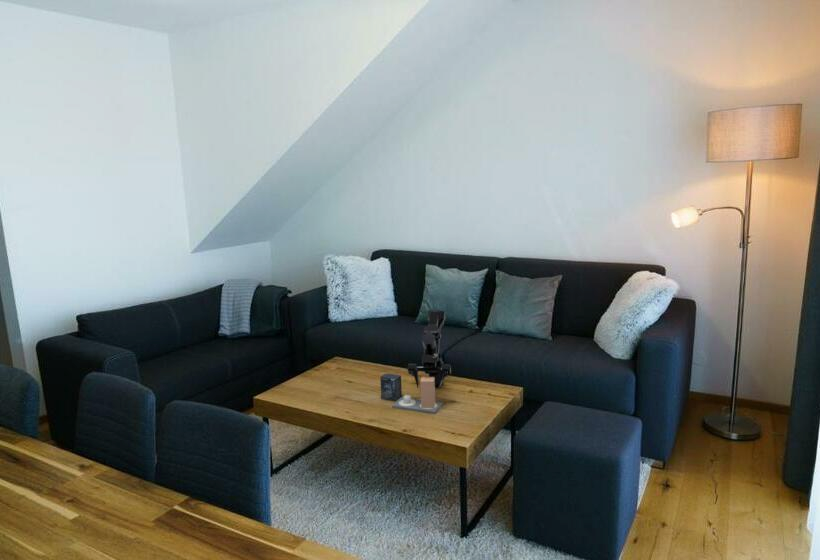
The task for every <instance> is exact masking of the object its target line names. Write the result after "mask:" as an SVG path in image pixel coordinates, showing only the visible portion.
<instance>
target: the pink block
mask: <svg viewBox="0 0 820 560" xmlns="http://www.w3.org/2000/svg"><path fill="white" fill-rule="evenodd" d="M419 386H420V400H421V408H434V407H435V402H436V387H435V377H429V376H421V378H420V385H419Z"/></svg>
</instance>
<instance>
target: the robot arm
mask: <svg viewBox="0 0 820 560" xmlns="http://www.w3.org/2000/svg"><path fill="white" fill-rule="evenodd" d="M427 321H428V325H426V326H425V327H424V329H423V331H422V334H421V342H422V345H423V355H422V357H421V358H422V359H421V365H422V366H418V363H408V364H407V368H406V369H407V372H408V375H411V376H412V377H414V380H415V384H416V387H417V388H419V386H420V385H419V372H424V374H428V377H435V388H438V389H440V387H441V386H442V385H443V384H444V380H445V378H446V377H448V376H450V375H451V374H452V368H451V367H452V366H451V364H450V363H444V361H443V359H442V356H441V353H440V342H441V341H440V340H441V337H442V334H441V329H442V327H444V325H445V321H446V312H445V311H442V310H441V309H437V308H433V309H429V310H428V311H427ZM451 376H452V375H451Z"/></svg>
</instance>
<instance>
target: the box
mask: <svg viewBox="0 0 820 560" xmlns="http://www.w3.org/2000/svg"><path fill="white" fill-rule="evenodd" d="M379 379H380V398H381V399H384V400H388V401H389V400H390V401H393V402H397V401H398V400H399V399H400V398H401V397H403V396H402V393H403V392H402V375H399V374H394V373H388V372H386V373H384V374H382V375H381V376H380V378H379Z"/></svg>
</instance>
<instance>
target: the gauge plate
mask: <svg viewBox="0 0 820 560" xmlns="http://www.w3.org/2000/svg"><path fill="white" fill-rule="evenodd" d="M411 397H412V396H411V395H410V394H405V395H403V396H402V397H401V398H400V399H398V400H397V401H395V402H394V403H393V404H392V405H391V407H392V409H399V410H405V411H406V410H407V411H412V412H419V413H427V414H433V415H436V414H437V413H438V412H439V410H441V408H442V407H443V406H444V402H442V401H441V402H440V401H435V407H434V408H421V398H419V399H417V398H411Z"/></svg>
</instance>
